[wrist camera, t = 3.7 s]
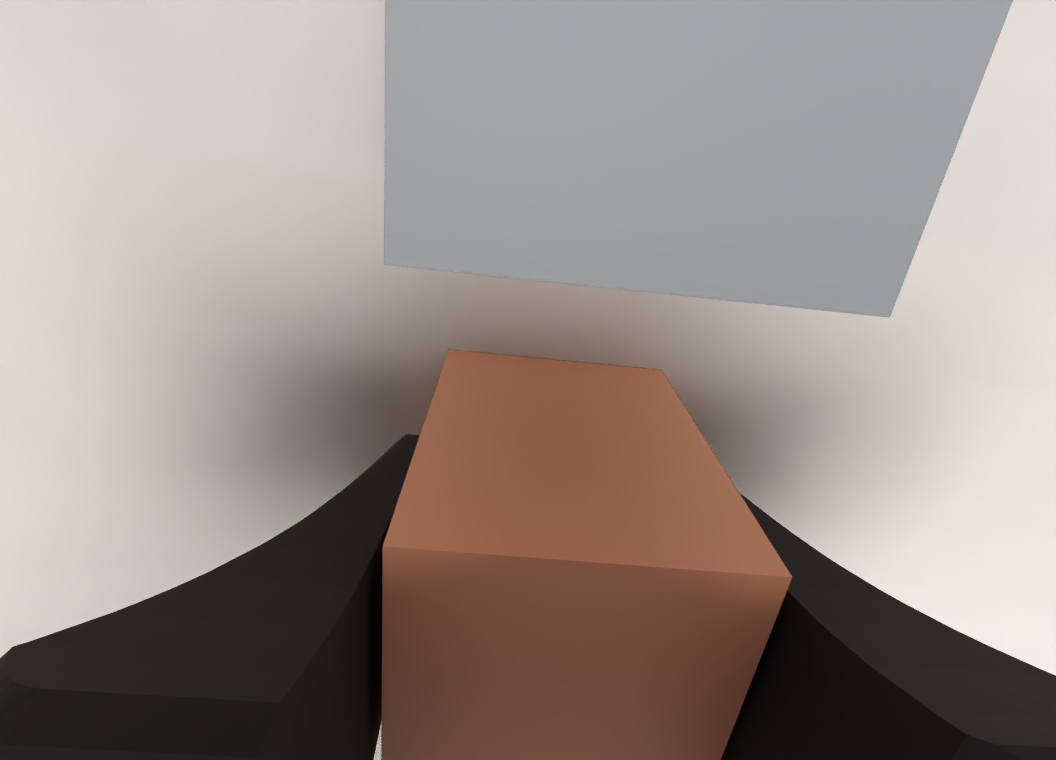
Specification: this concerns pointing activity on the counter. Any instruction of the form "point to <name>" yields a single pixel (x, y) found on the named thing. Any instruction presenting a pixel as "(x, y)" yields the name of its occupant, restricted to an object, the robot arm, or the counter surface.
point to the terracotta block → (568, 572)
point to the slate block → (678, 141)
